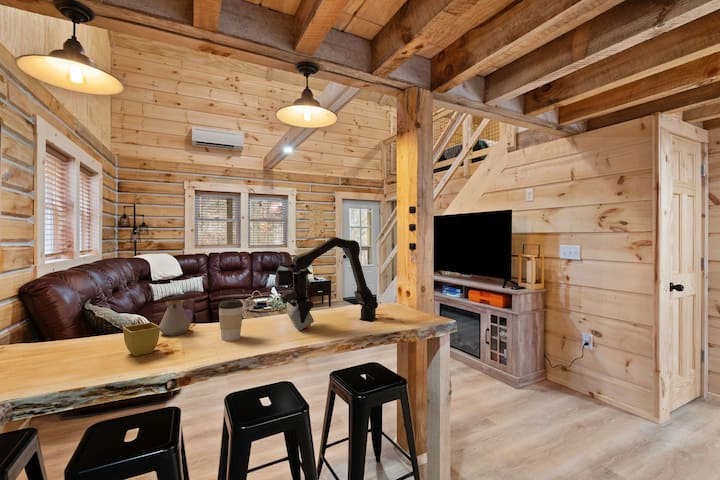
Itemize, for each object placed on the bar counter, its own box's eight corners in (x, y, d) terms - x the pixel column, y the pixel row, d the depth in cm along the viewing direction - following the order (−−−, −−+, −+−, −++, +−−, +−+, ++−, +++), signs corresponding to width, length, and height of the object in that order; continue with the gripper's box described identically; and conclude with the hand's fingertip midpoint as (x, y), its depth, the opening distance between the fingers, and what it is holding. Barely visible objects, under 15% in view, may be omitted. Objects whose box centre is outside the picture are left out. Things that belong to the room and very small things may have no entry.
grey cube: (309, 317, 149) (301, 302, 147) (314, 321, 142) (306, 306, 140) (294, 326, 146) (286, 311, 144) (298, 331, 139) (290, 315, 137)
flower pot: (151, 346, 118) (151, 321, 118) (160, 352, 113) (160, 326, 113) (122, 353, 111) (122, 327, 111) (130, 360, 106) (130, 332, 106)
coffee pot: (159, 330, 137) (159, 294, 137) (190, 327, 143) (190, 292, 142) (155, 346, 118) (155, 305, 118) (191, 342, 124) (191, 302, 123)
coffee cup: (217, 336, 131) (218, 298, 131) (241, 333, 135) (242, 297, 135) (218, 343, 123) (218, 303, 123) (244, 340, 127) (244, 301, 127)
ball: (296, 323, 141) (302, 332, 143) (305, 318, 140) (312, 327, 142) (298, 317, 146) (304, 325, 147) (308, 312, 145) (314, 321, 146)
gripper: (277, 282, 148) (276, 317, 148) (286, 289, 131) (286, 328, 131) (301, 281, 152) (301, 314, 153) (313, 287, 135) (313, 325, 136)
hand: (299, 320), depth 143 cm, fingers closed on grey cube, 8 cm apart
